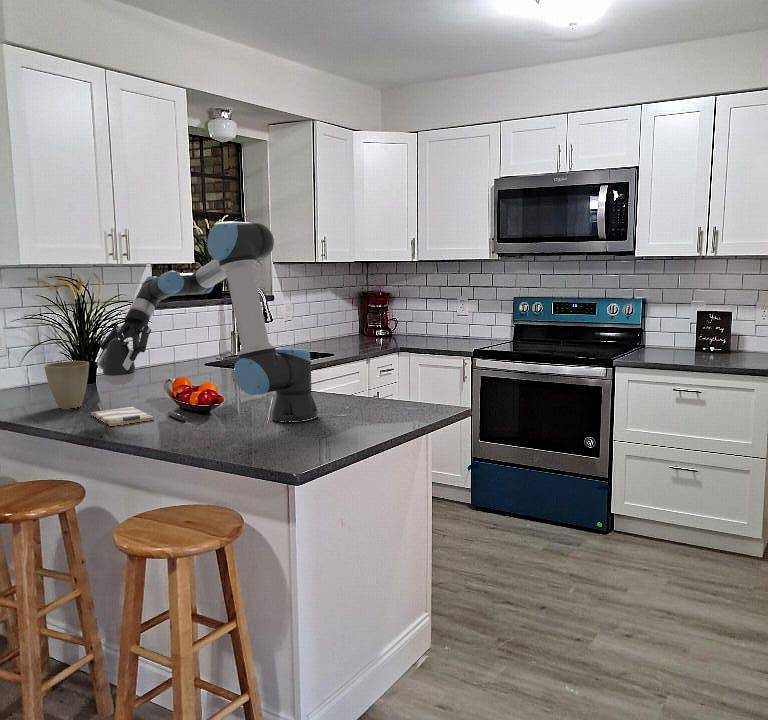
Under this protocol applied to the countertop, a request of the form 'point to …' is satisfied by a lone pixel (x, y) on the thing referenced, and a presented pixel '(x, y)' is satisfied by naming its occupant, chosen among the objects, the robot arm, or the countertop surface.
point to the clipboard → (122, 416)
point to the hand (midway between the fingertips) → (112, 367)
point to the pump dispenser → (117, 363)
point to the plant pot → (68, 382)
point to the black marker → (177, 416)
